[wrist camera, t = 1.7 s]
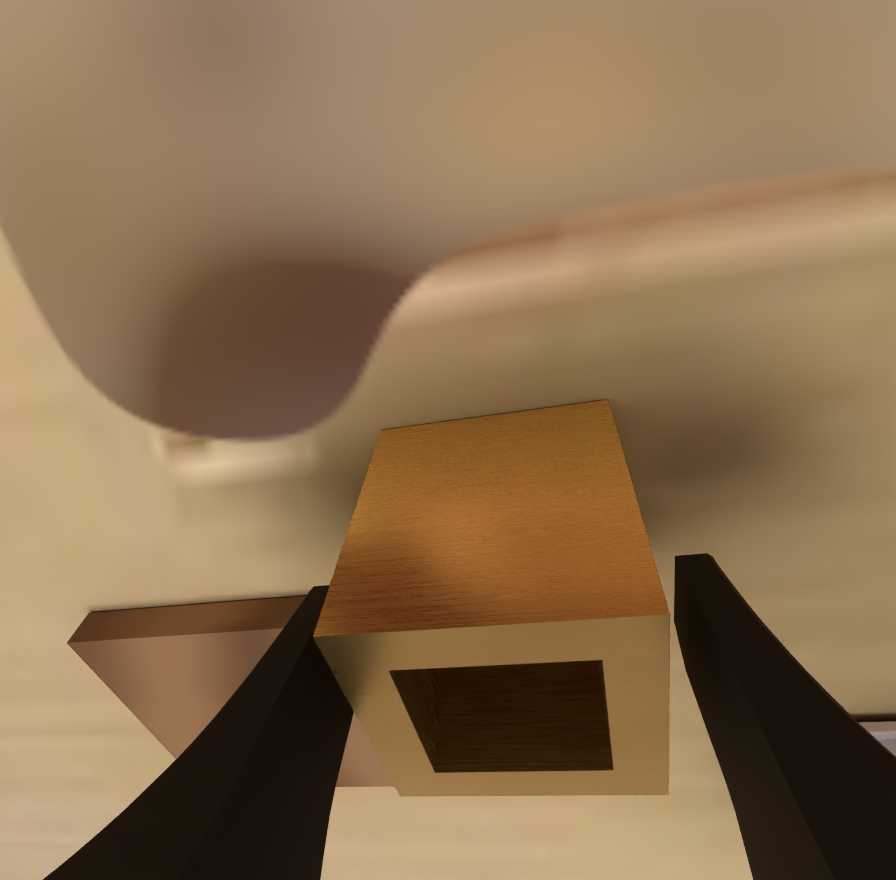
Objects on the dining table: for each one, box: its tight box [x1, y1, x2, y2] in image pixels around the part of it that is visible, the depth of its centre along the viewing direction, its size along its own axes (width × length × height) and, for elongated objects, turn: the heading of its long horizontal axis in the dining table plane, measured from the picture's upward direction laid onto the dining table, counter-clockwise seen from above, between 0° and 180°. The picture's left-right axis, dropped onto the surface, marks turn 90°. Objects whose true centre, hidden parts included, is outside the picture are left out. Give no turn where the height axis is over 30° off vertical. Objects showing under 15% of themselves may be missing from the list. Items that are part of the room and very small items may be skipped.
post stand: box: [67, 596, 394, 787], centre depth 19 cm, size 12×10×4 cm
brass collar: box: [313, 400, 670, 796], centre depth 13 cm, size 6×6×6 cm
